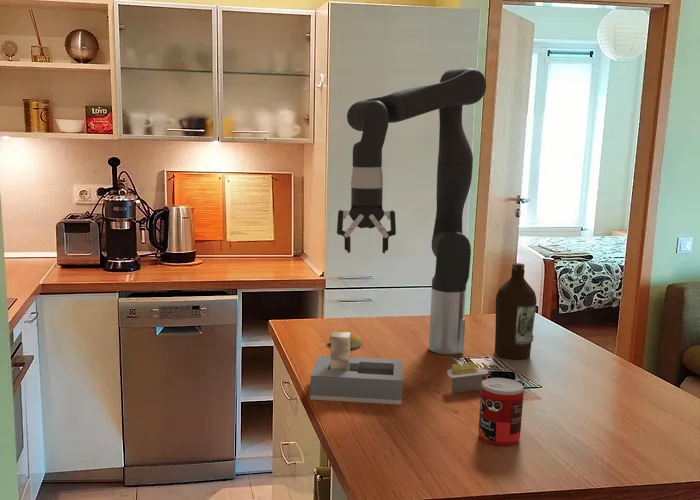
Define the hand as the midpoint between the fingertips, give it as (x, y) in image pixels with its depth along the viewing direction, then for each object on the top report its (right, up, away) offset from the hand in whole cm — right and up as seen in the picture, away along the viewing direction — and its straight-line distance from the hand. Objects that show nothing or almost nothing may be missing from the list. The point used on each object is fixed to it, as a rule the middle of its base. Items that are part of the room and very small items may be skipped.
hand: (366, 252), depth 165 cm
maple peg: (-6, -30, -10) cm, 33 cm away
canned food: (+25, -36, -33) cm, 55 cm away
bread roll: (-5, -26, +24) cm, 36 cm away
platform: (+23, -32, -8) cm, 40 cm away
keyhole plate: (-2, -32, -10) cm, 33 cm away
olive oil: (+40, -28, +19) cm, 53 cm away
